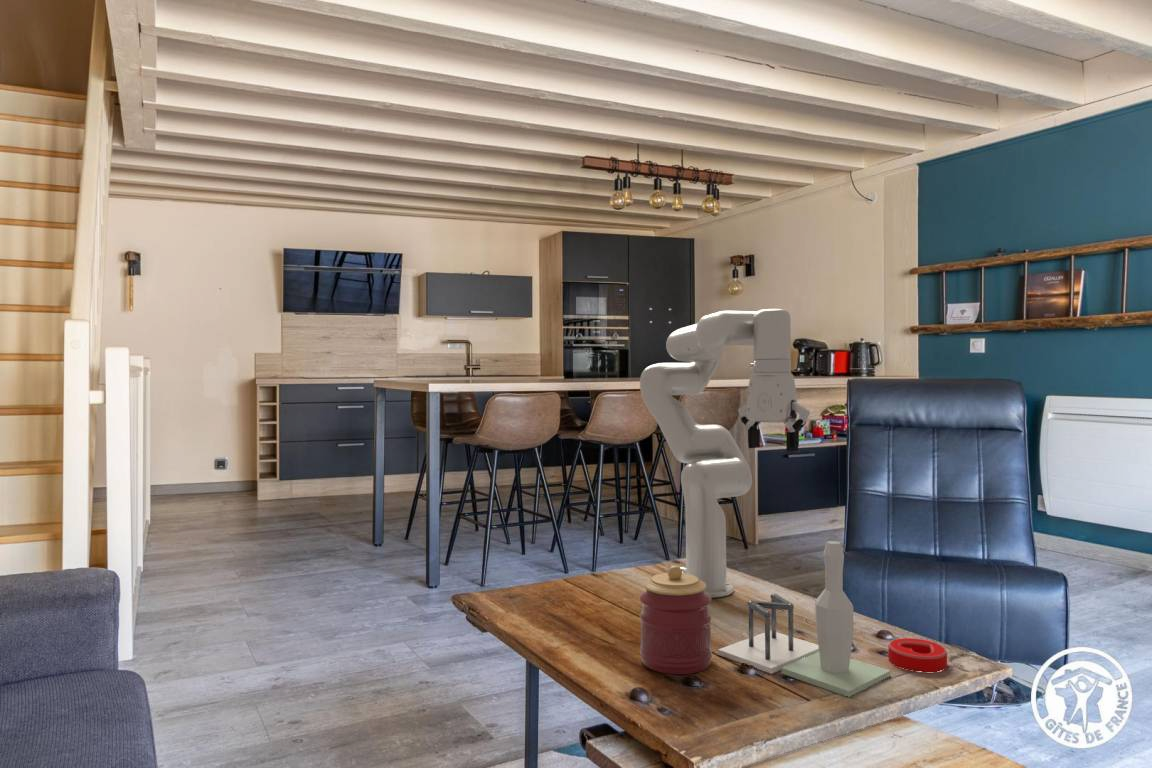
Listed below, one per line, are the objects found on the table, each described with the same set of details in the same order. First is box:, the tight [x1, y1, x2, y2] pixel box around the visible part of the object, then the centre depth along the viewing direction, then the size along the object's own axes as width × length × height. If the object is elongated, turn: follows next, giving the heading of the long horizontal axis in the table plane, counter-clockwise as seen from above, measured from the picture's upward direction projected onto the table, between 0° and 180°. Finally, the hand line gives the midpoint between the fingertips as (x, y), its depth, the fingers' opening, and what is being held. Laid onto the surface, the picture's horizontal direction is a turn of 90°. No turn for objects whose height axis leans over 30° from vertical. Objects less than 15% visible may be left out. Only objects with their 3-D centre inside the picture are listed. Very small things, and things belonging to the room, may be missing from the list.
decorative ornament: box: [887, 637, 948, 672], centre depth 138 cm, size 10×10×3 cm
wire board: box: [717, 629, 819, 675], centre depth 143 cm, size 12×16×1 cm
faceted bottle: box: [814, 540, 854, 674], centre depth 133 cm, size 6×6×22 cm
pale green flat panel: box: [780, 652, 891, 698], centre depth 133 cm, size 13×13×1 cm
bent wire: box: [747, 593, 795, 660], centre depth 143 cm, size 7×11×9 cm, turn 129°
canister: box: [639, 565, 713, 675], centre depth 140 cm, size 13×13×18 cm
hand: (772, 449), depth 161 cm, fingers open, 9 cm apart
